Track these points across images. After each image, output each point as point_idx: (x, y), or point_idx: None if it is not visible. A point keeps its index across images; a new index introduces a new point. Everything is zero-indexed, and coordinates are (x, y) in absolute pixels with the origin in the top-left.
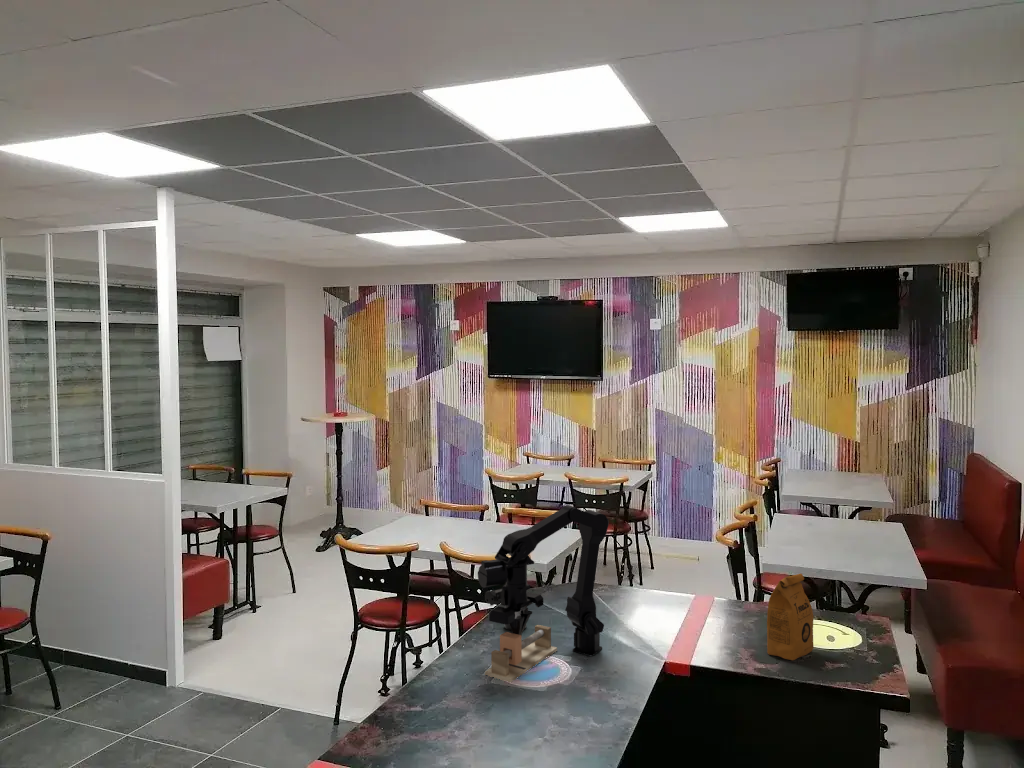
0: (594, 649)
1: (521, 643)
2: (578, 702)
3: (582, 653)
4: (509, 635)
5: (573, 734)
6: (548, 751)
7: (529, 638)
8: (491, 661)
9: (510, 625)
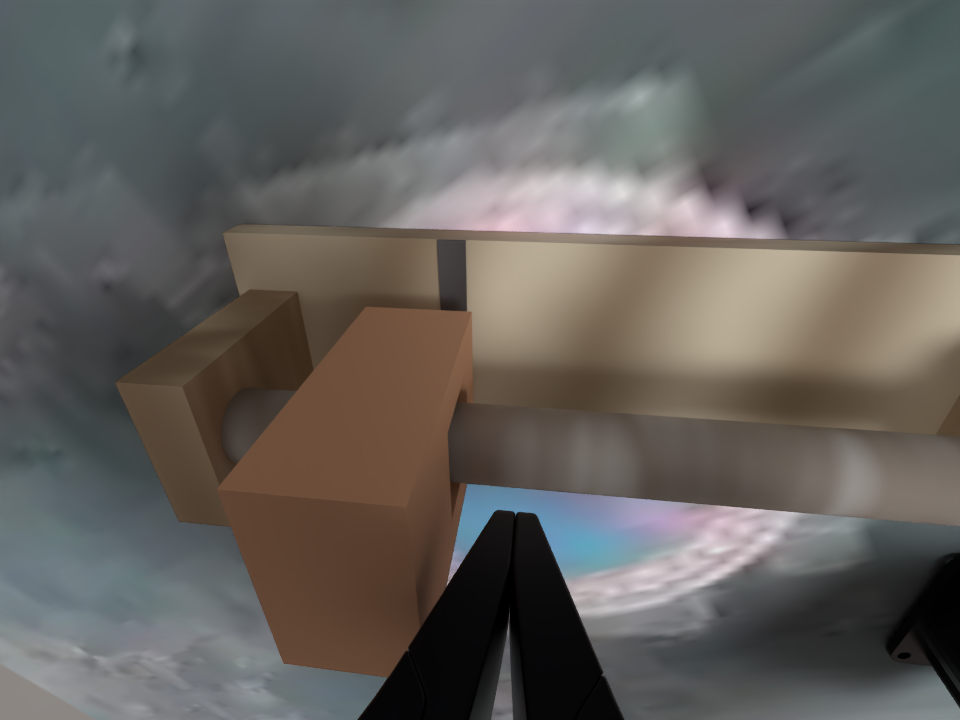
0: (944, 684)
1: (446, 583)
2: (356, 681)
3: (914, 610)
4: (317, 590)
5: (179, 702)
6: (58, 677)
7: (765, 506)
8: (190, 330)
9: (376, 705)
